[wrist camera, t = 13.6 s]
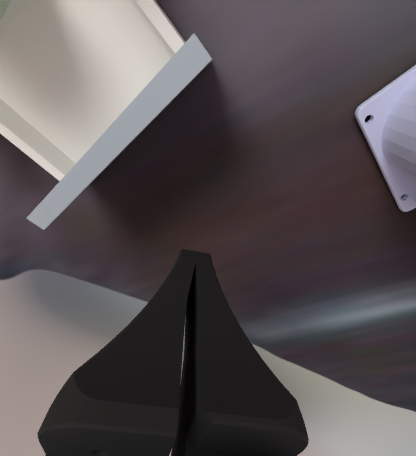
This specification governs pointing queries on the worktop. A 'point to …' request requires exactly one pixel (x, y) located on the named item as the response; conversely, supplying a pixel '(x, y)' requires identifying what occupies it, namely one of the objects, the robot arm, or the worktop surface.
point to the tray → (86, 84)
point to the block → (3, 6)
